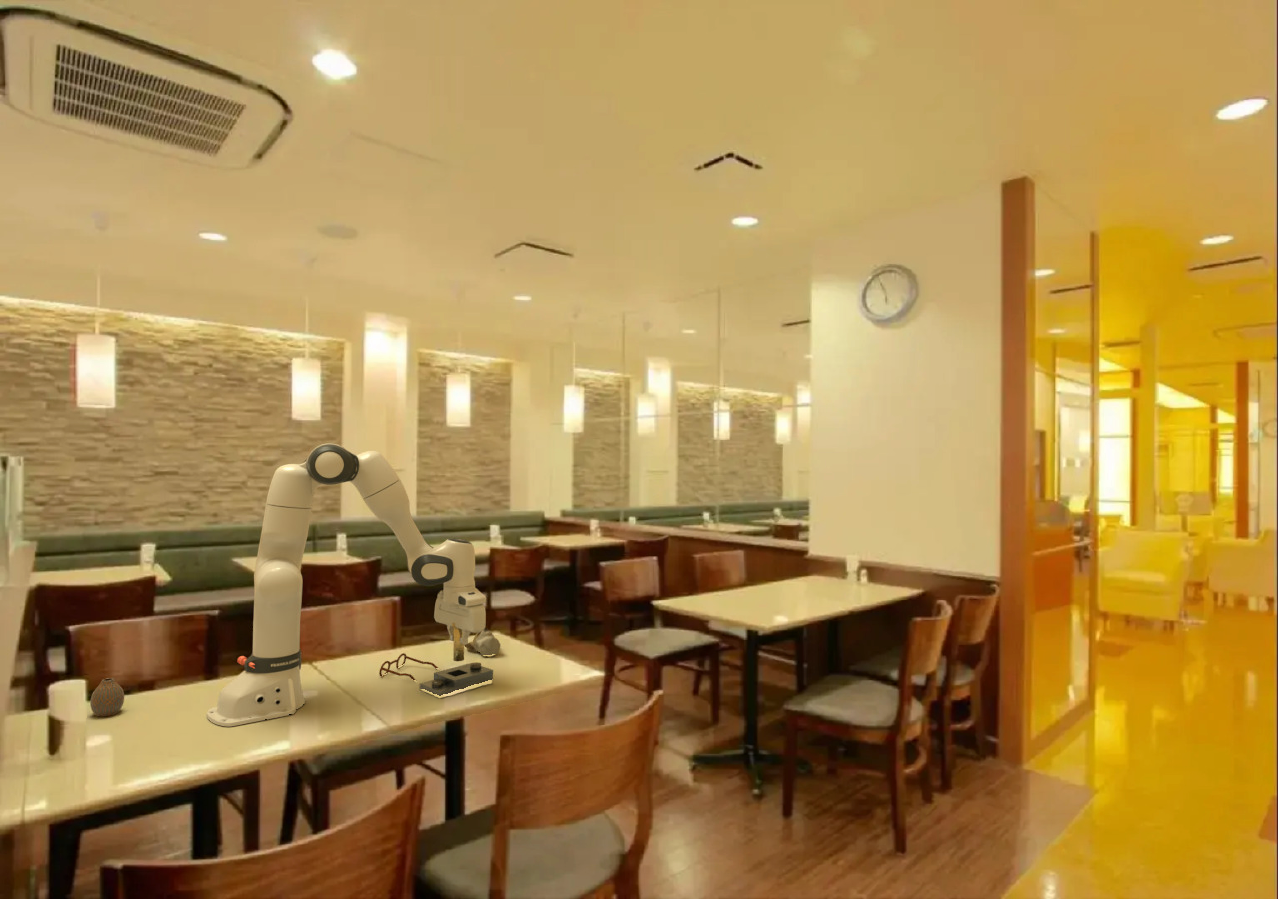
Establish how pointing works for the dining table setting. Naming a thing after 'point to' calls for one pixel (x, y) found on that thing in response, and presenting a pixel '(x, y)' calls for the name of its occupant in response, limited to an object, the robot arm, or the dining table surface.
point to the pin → (458, 644)
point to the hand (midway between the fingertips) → (458, 642)
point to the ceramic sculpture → (484, 643)
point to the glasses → (402, 664)
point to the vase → (107, 698)
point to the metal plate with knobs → (457, 678)
